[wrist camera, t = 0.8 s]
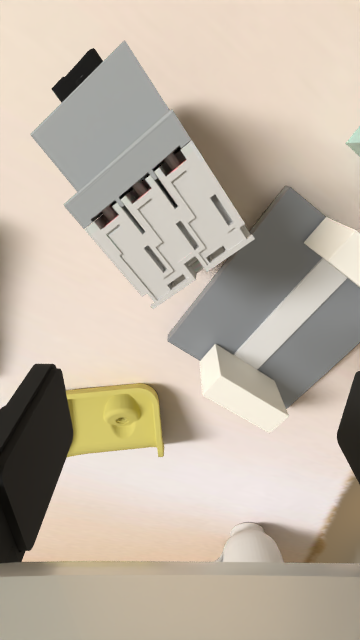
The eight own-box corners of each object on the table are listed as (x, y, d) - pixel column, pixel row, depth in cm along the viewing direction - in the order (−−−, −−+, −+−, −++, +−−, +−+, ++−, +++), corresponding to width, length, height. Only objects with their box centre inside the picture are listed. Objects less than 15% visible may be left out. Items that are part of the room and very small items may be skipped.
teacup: (199, 506, 54) (203, 577, 45) (290, 512, 54) (311, 583, 45) (191, 549, 59) (193, 620, 50) (273, 554, 60) (290, 625, 51)
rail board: (285, 185, 32) (315, 195, 25) (406, 287, 36) (460, 319, 29) (168, 334, 39) (165, 374, 32) (280, 403, 44) (299, 450, 37)
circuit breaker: (131, 59, 27) (84, -29, 14) (225, 205, 33) (257, 242, 19) (66, 122, 29) (-29, 97, 16) (165, 249, 35) (155, 312, 21)
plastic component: (156, 385, 40) (164, 468, 40) (158, 374, 47) (164, 444, 47) (-12, 401, 39) (-4, 485, 39) (16, 388, 46) (23, 458, 47)
